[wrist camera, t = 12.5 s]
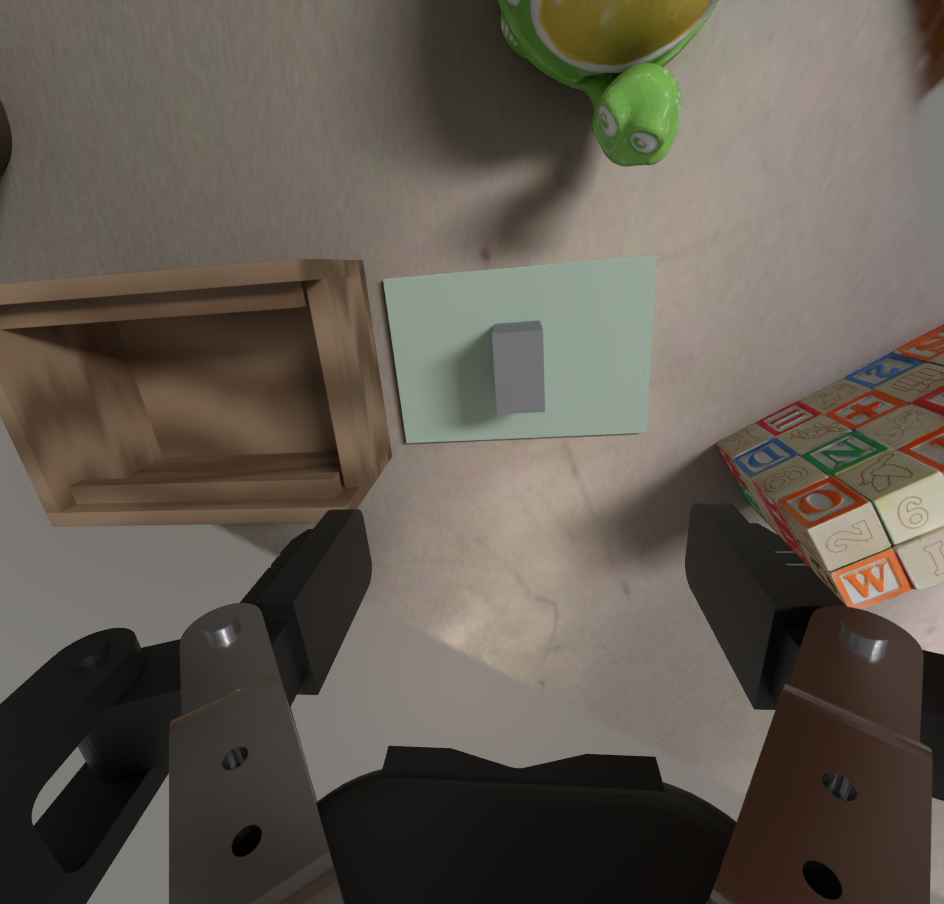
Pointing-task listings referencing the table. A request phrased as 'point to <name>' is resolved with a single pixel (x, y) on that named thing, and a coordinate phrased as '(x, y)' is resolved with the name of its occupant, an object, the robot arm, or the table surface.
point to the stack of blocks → (857, 475)
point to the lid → (524, 350)
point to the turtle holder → (612, 63)
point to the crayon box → (195, 393)
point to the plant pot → (4, 138)
